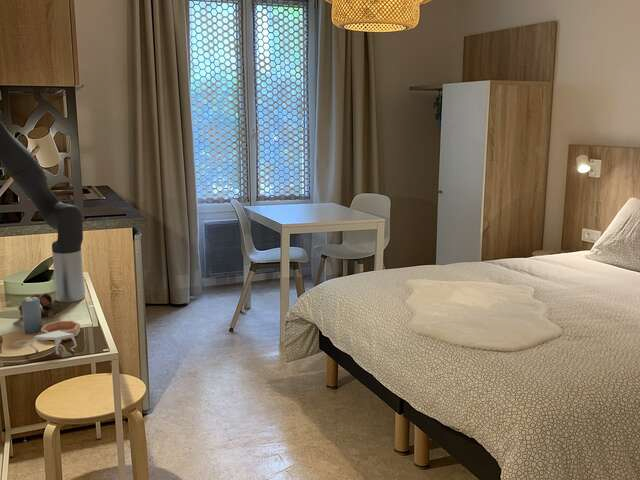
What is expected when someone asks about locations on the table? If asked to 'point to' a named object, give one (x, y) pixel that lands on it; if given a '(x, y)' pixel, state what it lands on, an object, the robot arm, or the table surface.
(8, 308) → the table surface
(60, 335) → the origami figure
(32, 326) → the pebble cup
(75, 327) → the terracotta bowl
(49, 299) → the pottery mug
